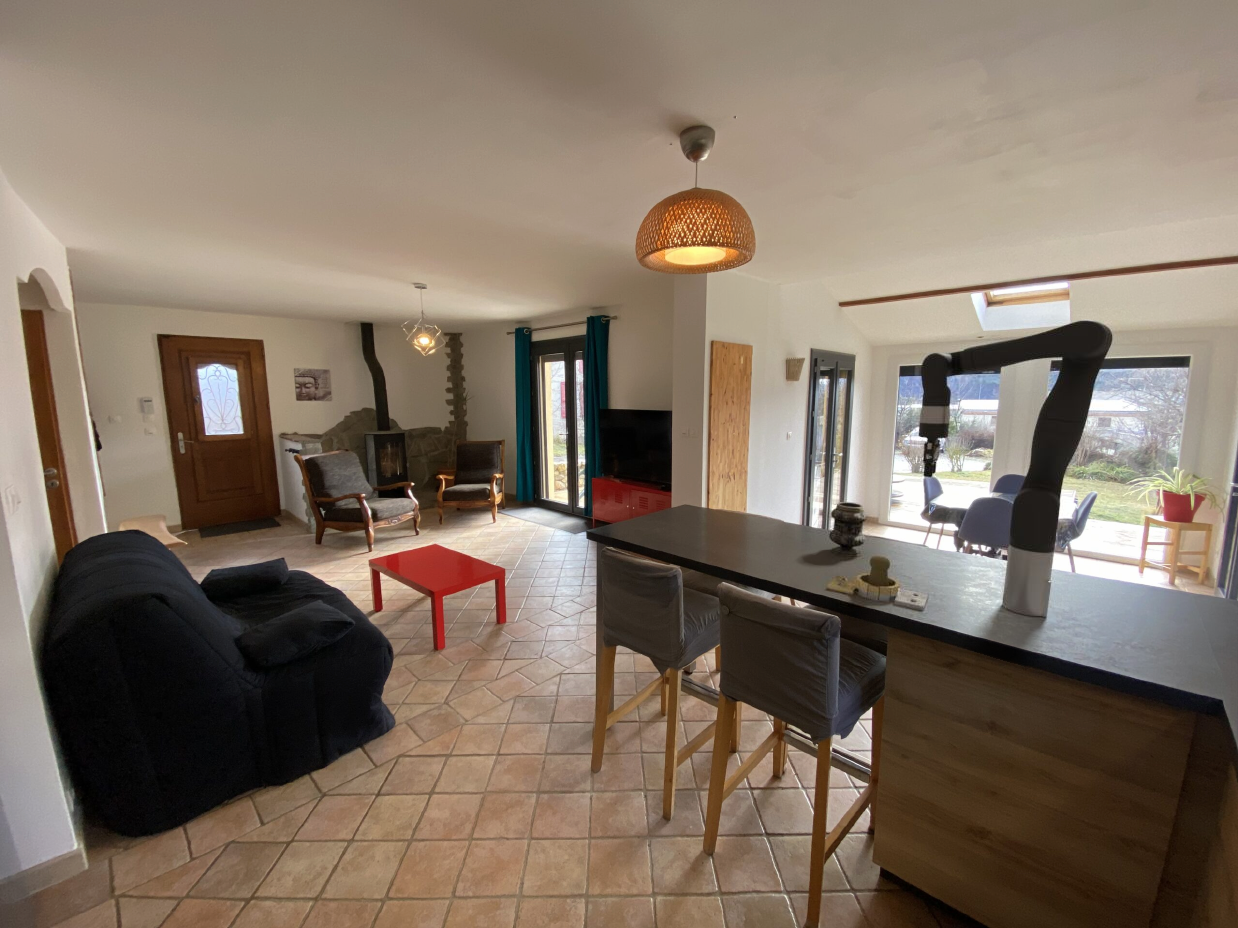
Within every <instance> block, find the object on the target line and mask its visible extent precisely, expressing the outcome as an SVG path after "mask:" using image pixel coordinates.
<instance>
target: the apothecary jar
mask: <svg viewBox="0 0 1238 928" xmlns="http://www.w3.org/2000/svg"><path fill="white" fill-rule="evenodd" d="M835 507H836V508H834V509H832V511H831V512H830V514H831V517H832V519H834V522H833V528H832V530H831V531H830V532H829V534H828V537H829V539H830V540H831V541H832V542H833V543H834V544H836V545H838V546H835V547H833V548H832V549H831V552H832V553H834V554H836V555H839V556H844V557H860V556H861V555H862V552H861V551H860V550H858V549H857V548H855V547H860V546H863V544H865V542H866V536H865V535H864V534H863V525H864V523H865V522H866V520H867V519H868V515H867V513H866V512H865V511H864V508H863V507H864V506H863V505H862V504H860V503H856V502H850V501H839V502H838V503H837V504H836V506H835Z"/></svg>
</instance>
